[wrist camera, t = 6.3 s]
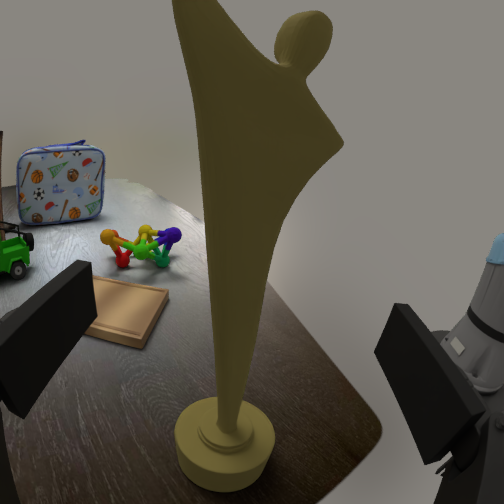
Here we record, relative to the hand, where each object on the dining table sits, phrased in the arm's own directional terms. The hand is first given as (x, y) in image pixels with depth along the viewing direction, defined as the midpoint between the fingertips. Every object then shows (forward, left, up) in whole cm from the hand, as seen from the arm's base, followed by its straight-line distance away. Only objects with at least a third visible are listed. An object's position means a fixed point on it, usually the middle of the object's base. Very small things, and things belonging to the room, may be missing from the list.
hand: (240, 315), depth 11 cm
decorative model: (+18, -36, -16) cm, 43 cm away
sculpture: (0, -2, -16) cm, 16 cm away
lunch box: (+51, -54, -16) cm, 76 cm away
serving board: (+17, -20, -16) cm, 30 cm away
